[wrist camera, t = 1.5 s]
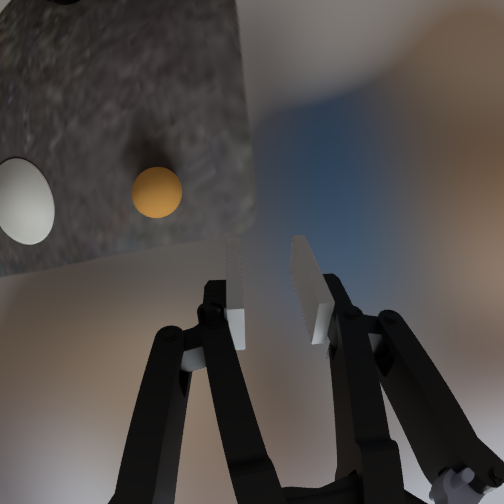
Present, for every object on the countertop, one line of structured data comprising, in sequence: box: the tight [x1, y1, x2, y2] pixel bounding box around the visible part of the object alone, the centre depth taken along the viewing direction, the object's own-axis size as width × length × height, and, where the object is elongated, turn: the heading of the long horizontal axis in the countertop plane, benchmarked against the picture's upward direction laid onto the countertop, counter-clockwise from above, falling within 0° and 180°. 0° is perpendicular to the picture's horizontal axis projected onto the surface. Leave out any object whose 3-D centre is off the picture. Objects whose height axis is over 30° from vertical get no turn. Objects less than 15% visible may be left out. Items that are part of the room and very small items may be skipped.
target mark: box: [0, 158, 55, 244], centre depth 31 cm, size 13×13×1 cm
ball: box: [132, 167, 182, 218], centre depth 30 cm, size 6×6×6 cm
